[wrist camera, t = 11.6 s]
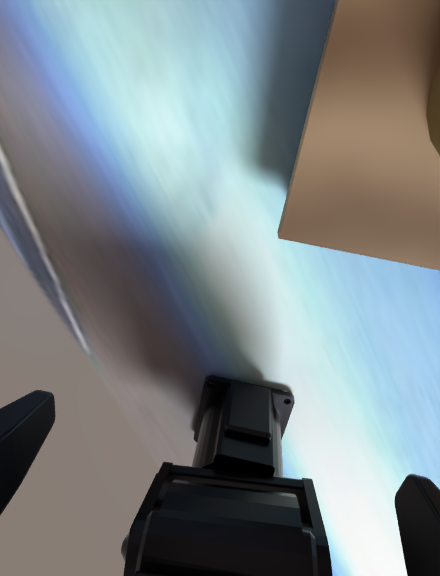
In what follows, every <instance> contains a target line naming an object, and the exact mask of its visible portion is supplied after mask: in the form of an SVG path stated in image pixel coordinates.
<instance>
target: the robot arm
mask: <svg viewBox="0 0 440 576" xmlns="http://www.w3.org/2000/svg"><path fill="white" fill-rule="evenodd" d="M209 382H212V383H214V384H210V383H209ZM285 399H289V400H285ZM293 406H294V396H293V395H292V394H291V393H289V392H284V391H280V390H275V389H271V388H266V387H261V386H257V385H252V384H248V383H243V382H239V381H234V380H229V379H225V378H220V377H216V376H208V377H206V379H205V382H204V386H203V392H202V397H201V402H200V407H199V413H198V418H197V423H196V429H195V434H194V440H195V441H196V442H197V446H196V451H195V455H194V460H193V464H192V467H189V466H181V465H173V463H170V462H163V464H162V466H161V468H160V470H159V473H157V474H156V476H155V478H154V480H153V482H152V484H151V486H150V488H149V490H148V493H147V494H146V497H145V499H144V501H143V503H142V505H141V507H140V509H139V511H138V513H137V515H136V517H135V519H134V522H133V524H132V526H131V528H130V532H129V533H128V535H127V536H126V537H125V539H124V541H123V544H122V549H121V554H122V556H123V558H124V561H125V568H124V576H332V567H331V558H330V551H329V545H328V541H327V536H326V532H325V528H324V524H323V520H322V516H321V513H320V509H319V505H318V501H317V497H316V493H315V489H314V485H313V481H312V479H308V478H302V480H301V479H292V478H284V477H283V464H282V446H281V440H282V437H283V434H284V431H285V428H286V425H287V423H288V420H289V417H290V414H291V411H292V408H293ZM54 421H55V401H54V395H53V394H52V393H50V392H46V391H42V390H36V391H33V392H31V393H29V394H27V395H25V396H24V397H21V398H20V399H18V400H16V401H14V402H12V403H10V404H8V405H6V406H4V407H2V408H0V515H1V513H2V512H3V511H4V509H5V508H6V506H7V504H8V503H9V502H10V500H11V499H12V497H13V495H14V494H15V492H16V491H17V489H18V488H19V486H20V485H21V483H22V481H23V479H24V478H25V476H26V474H27V472H28V470H29V468H30V467H31V465H32V463H33V461H34V459H35V457H36V456H37V454H38V452H39V450H40V448H41V446H42V444H43V443H44V441H45V439H46V437H47V435H48V433H49V432H50V430H51V428H52V426H53V424H54ZM395 508H396V514H397V520H398V525H399V531H400V537H401V542H402V548H403V554H404V559H405V565H406V570H407V575H408V576H440V490H439V488H438V487H437V486H436V485H435V484H434V483H433V482H432V481H431V480H430V479H428V478H427V477H424V476H419V475H415V474H410V475H408V476H407V477H406V478H405V480H404V482H403V483H402V485H401V486H400V488H399V490H398V491H397V493H396V496H395Z"/></svg>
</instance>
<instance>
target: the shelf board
mask: <svg viewBox="0 0 440 576" xmlns="http://www.w3.org/2000/svg"><path fill="white" fill-rule="evenodd" d="M439 65H440V0H335V4H334V8H333V12H332V16H331V20H330V24H329V28H328V32H327V36H326V40H325V44H324V48H323V52H322V56H321V60H320V64H319V68H318V72H317V76H316V80H315V84H314V88H313V92H312V96H311V100H310V104H309V108H308V112H307V116H306V120H305V124H304V128H303V132H302V136H301V140H300V144H299V148H298V152H297V156H296V160H295V164H294V168H293V172H292V176H291V180H290V184H289V188H288V192H287V196H286V200H285V204H284V208H283V212H282V216H281V220H280V224H279V228H278V238H279V239H285V240H290V241H295V242H300V243H305V244H310V245H315V246H320V247H325V248H330V249H335V250H340V251H345V252H350V253H355V254H360V255H365V256H370V257H375V258H380V259H385V260H390V261H395V262H400V263H405V264H410V265H415V266H420V267H425V268H430V269H435V270H440V156H439V154H438V152H437V151H436V149H435V147H434V146H433V144H432V142H431V141H430V135H429V129H428V123H427V117H426V112H427V106H428V99H429V92H430V86H431V84H432V81H433V79H434V77H435V75H436V72H437V70H438V68H439Z"/></svg>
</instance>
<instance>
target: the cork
mask: <svg viewBox="0 0 440 576" xmlns="http://www.w3.org/2000/svg"><path fill="white" fill-rule="evenodd" d="M426 117H427V123H428V129H429V135H430V141H431V142H432V144H433V146H434V147H435V149H436V151H437V152H438V154H439V156H440V65H439V68H438V70H437V72H436V75H435V77H434V79H433V81H432V84H431V86H430V92H429V99H428V106H427V112H426Z"/></svg>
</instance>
